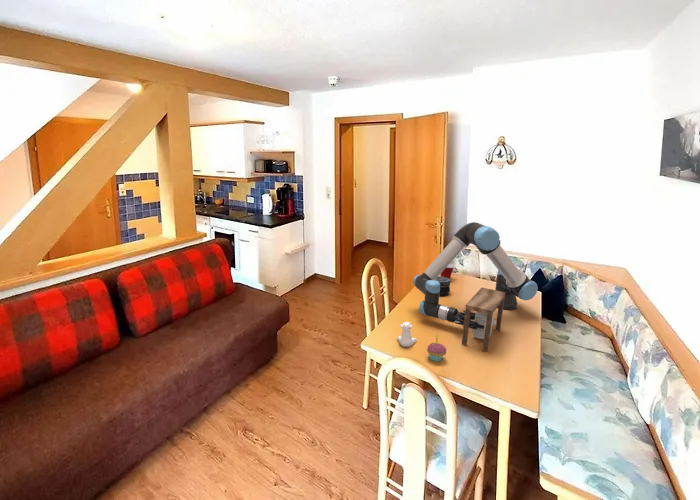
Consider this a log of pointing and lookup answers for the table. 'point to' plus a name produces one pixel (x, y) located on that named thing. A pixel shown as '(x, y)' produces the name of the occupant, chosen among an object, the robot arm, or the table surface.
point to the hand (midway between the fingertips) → (493, 325)
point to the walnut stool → (486, 304)
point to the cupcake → (436, 350)
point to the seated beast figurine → (406, 335)
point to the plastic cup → (447, 271)
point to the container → (443, 285)
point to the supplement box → (481, 319)
